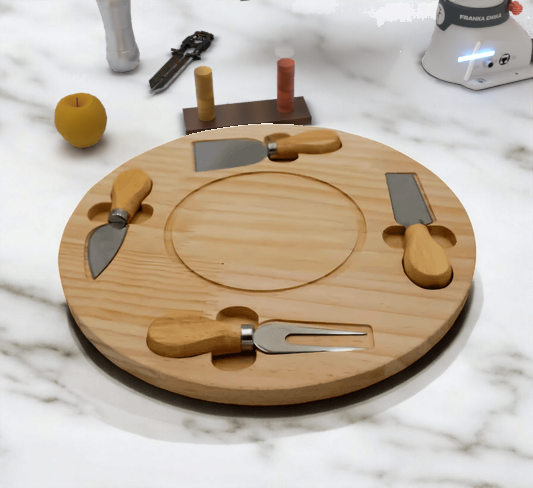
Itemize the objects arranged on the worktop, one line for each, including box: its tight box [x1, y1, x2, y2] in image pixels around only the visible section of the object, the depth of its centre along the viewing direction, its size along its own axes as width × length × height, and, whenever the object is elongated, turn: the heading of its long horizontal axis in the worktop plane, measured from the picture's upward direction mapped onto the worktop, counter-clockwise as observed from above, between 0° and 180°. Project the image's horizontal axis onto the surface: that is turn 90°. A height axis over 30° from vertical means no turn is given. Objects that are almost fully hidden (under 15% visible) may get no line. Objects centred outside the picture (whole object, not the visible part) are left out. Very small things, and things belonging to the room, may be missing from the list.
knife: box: [148, 30, 215, 95], centre depth 130 cm, size 25×6×1 cm, turn 154°
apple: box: [53, 92, 108, 149], centre depth 108 cm, size 8×8×9 cm
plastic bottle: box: [95, 0, 141, 73], centre depth 123 cm, size 6×7×20 cm
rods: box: [182, 57, 313, 136], centre depth 112 cm, size 22×7×10 cm, turn 100°
